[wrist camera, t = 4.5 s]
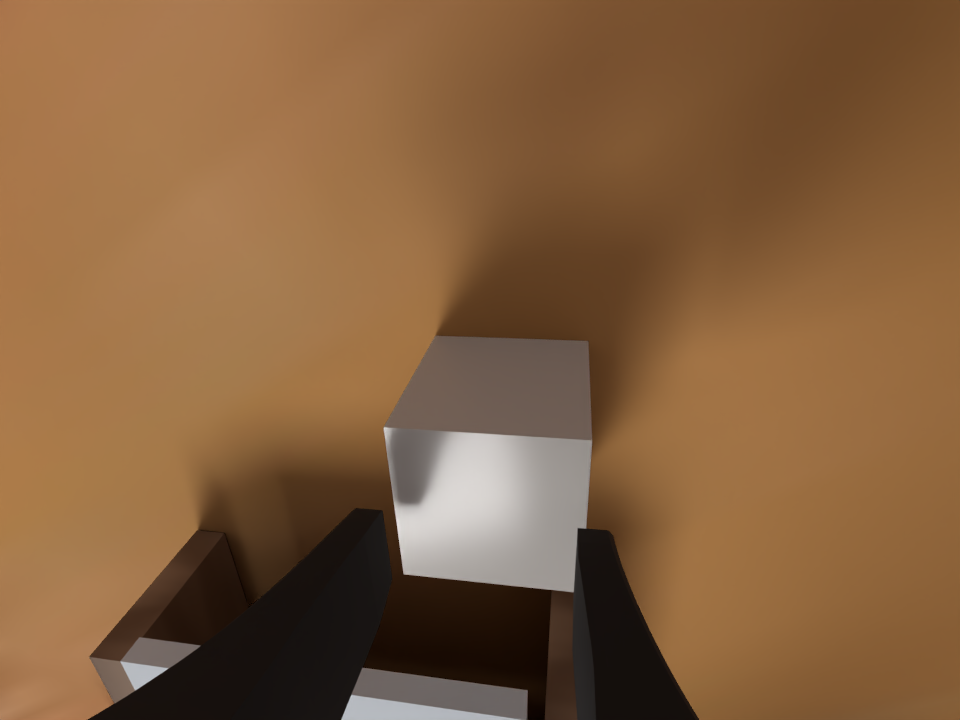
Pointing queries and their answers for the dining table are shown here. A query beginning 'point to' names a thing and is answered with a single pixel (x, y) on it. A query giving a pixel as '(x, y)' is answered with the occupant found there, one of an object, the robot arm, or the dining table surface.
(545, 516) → the white block
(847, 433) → the dining table surface
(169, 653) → the trapdoor
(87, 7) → the dining table surface
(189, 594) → the frame
